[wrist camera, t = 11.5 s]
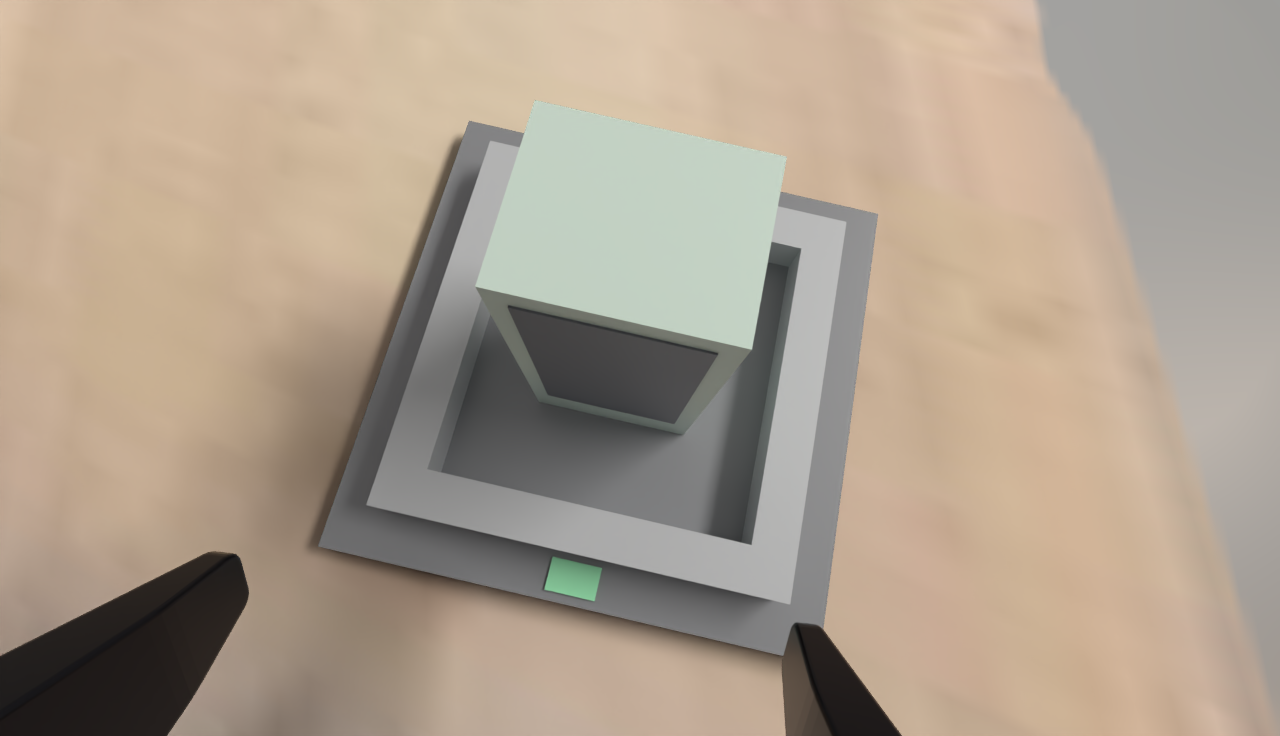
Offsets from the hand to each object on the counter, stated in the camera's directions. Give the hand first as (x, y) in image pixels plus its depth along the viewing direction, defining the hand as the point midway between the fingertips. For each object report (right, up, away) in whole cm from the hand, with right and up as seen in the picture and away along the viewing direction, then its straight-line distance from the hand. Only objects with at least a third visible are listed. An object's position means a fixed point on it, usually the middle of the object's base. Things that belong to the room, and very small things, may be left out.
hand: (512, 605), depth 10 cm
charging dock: (+2, +4, +12) cm, 13 cm away
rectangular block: (+2, +4, +11) cm, 12 cm away
